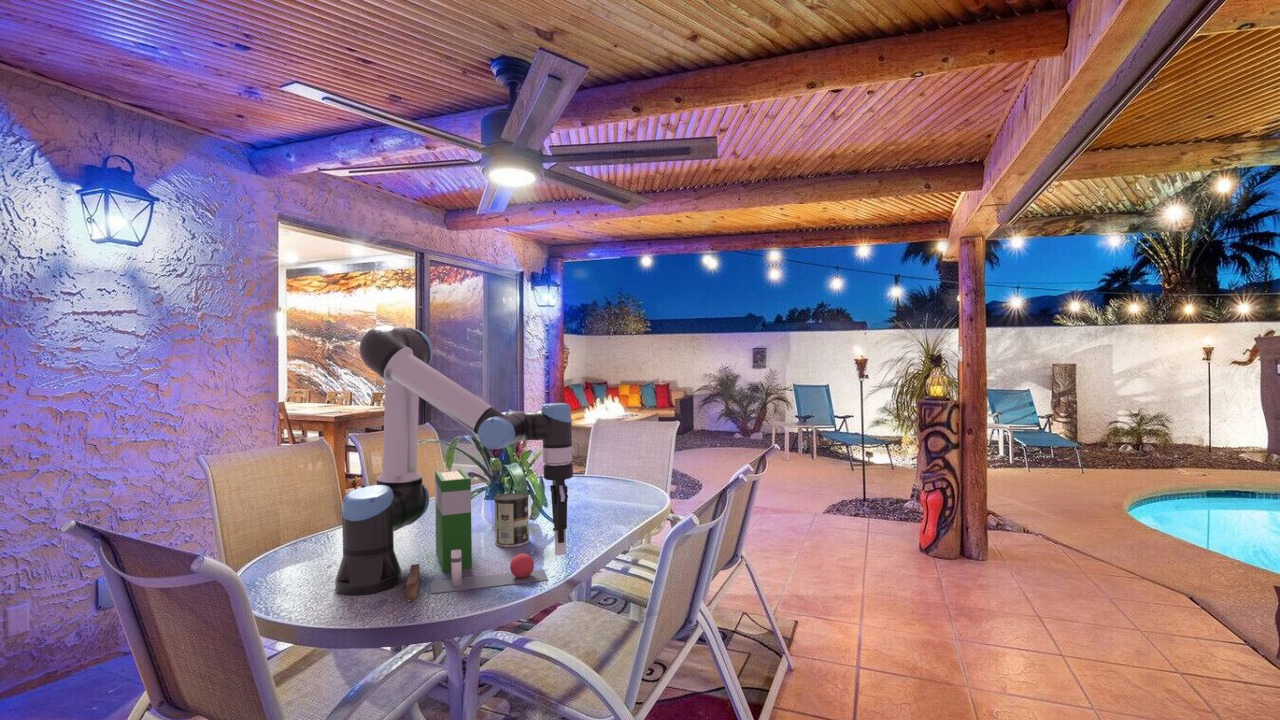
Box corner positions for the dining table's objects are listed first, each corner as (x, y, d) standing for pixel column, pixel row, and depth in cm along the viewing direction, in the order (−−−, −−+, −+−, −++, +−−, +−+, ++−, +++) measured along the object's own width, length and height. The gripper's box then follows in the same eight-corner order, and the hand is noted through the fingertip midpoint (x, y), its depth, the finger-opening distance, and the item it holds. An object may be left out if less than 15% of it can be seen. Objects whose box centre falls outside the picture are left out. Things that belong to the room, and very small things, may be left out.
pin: (451, 587, 149) (450, 552, 149) (451, 584, 152) (451, 549, 152) (462, 586, 150) (461, 551, 150) (461, 582, 152) (461, 548, 152)
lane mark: (430, 594, 145) (430, 593, 145) (431, 582, 153) (431, 581, 153) (548, 580, 153) (548, 579, 153) (543, 570, 161) (543, 569, 161)
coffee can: (528, 536, 192) (527, 491, 192) (530, 545, 182) (529, 498, 182) (494, 539, 190) (493, 493, 190) (494, 548, 180) (494, 501, 180)
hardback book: (436, 553, 176) (435, 470, 176) (462, 549, 179) (461, 468, 179) (443, 572, 160) (441, 481, 160) (471, 568, 163) (470, 478, 163)
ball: (511, 583, 152) (510, 559, 152) (509, 575, 157) (509, 551, 157) (535, 580, 153) (535, 556, 153) (532, 572, 159) (532, 549, 159)
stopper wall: (406, 601, 141) (406, 584, 141) (411, 580, 154) (411, 564, 154) (416, 600, 141) (415, 583, 141) (419, 579, 155) (419, 563, 155)
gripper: (577, 465, 153) (579, 560, 153) (568, 458, 165) (570, 545, 165) (546, 468, 151) (549, 563, 151) (540, 460, 163) (542, 548, 163)
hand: (560, 554), depth 158 cm, fingers closed
